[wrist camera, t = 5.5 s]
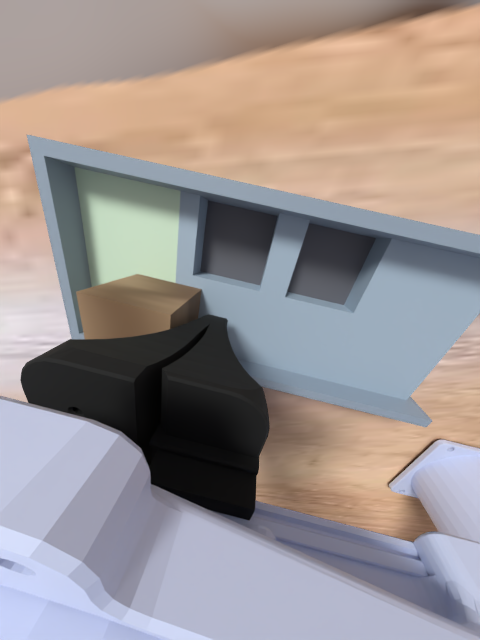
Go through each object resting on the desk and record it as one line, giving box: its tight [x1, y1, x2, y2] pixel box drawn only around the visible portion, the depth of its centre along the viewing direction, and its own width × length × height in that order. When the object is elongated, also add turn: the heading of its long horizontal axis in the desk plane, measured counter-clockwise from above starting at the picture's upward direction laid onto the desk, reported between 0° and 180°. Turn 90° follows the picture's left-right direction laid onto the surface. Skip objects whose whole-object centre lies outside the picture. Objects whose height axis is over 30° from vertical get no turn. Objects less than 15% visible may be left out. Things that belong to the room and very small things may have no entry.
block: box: [76, 274, 202, 339], centre depth 10 cm, size 4×4×4 cm
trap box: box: [27, 135, 480, 427], centre depth 11 cm, size 23×10×3 cm, turn 78°
